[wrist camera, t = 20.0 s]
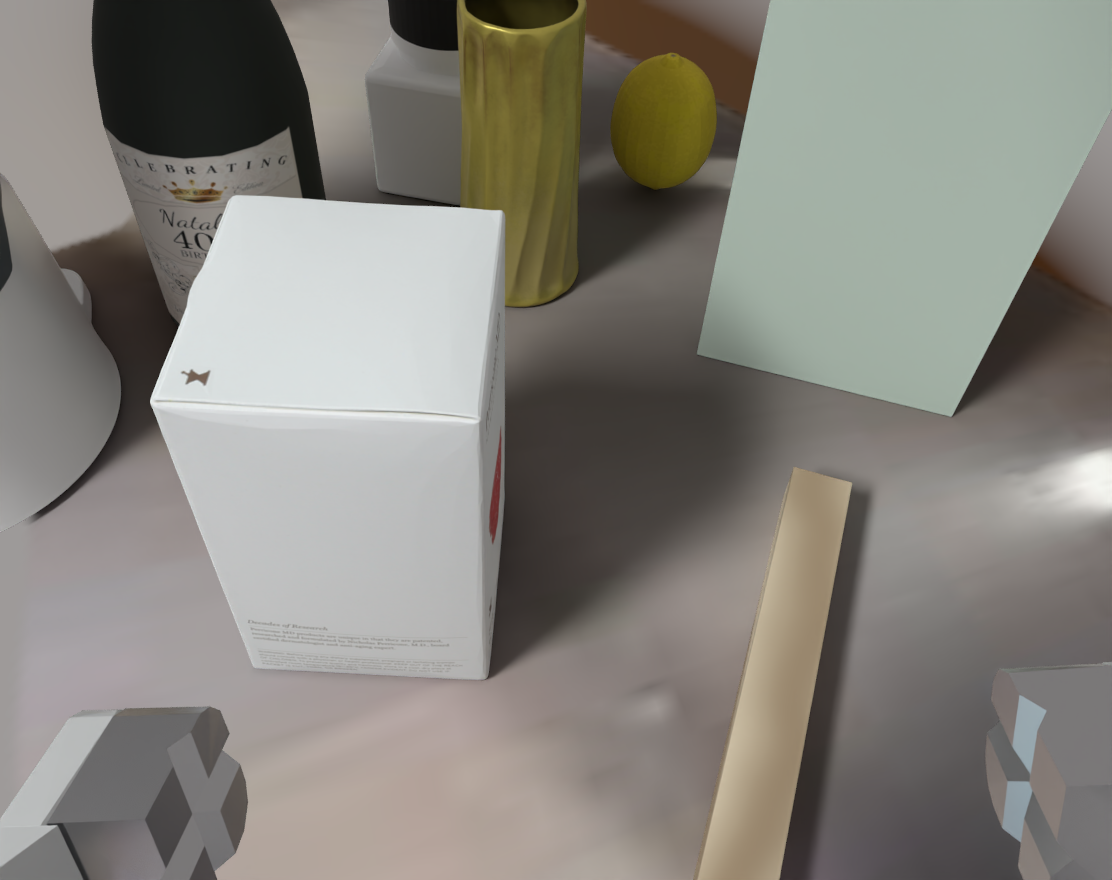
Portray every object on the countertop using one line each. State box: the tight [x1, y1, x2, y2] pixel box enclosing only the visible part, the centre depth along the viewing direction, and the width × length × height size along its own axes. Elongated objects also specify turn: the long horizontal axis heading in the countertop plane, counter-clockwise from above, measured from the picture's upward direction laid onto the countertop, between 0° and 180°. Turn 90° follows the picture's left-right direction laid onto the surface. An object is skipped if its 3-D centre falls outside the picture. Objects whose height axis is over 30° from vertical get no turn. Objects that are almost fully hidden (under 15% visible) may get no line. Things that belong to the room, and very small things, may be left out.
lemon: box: [610, 53, 717, 190], centre depth 54 cm, size 6×6×8 cm
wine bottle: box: [92, 0, 326, 327], centre depth 38 cm, size 8×8×30 cm
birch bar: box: [693, 467, 852, 880], centre depth 37 cm, size 2×20×2 cm, turn 162°
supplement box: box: [150, 195, 505, 680], centre depth 34 cm, size 9×9×15 cm
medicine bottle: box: [365, 0, 462, 206], centre depth 53 cm, size 7×7×12 cm
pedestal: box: [697, 0, 1112, 417], centre depth 41 cm, size 12×10×26 cm
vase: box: [457, 0, 586, 307], centre depth 47 cm, size 6×6×14 cm
